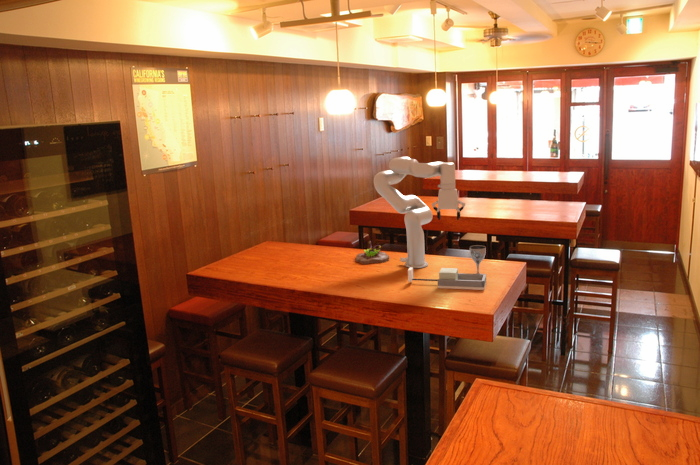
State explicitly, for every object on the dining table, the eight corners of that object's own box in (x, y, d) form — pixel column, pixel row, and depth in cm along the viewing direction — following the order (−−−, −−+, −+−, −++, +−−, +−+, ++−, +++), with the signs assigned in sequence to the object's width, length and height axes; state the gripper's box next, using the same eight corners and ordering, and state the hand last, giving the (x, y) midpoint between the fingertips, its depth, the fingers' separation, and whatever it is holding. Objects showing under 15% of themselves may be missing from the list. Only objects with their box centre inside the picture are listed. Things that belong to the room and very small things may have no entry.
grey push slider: (407, 283, 282) (407, 271, 281) (410, 278, 289) (410, 266, 288) (455, 284, 275) (455, 272, 273) (458, 280, 282) (457, 267, 281)
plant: (385, 254, 346) (384, 236, 343) (391, 262, 327) (390, 243, 324) (353, 257, 343) (352, 239, 341) (357, 265, 324) (356, 246, 322)
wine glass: (474, 278, 287) (474, 249, 284) (467, 274, 294) (466, 246, 291) (488, 276, 289) (488, 247, 286) (481, 272, 296) (480, 244, 293)
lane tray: (437, 288, 276) (437, 279, 275) (441, 280, 287) (441, 272, 286) (484, 289, 269) (484, 281, 268) (486, 282, 280) (486, 274, 279)
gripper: (429, 188, 290) (430, 220, 294) (464, 187, 285) (464, 221, 289) (432, 185, 297) (433, 218, 301) (465, 185, 292) (466, 218, 296)
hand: (448, 219), depth 295 cm, fingers open, 9 cm apart
